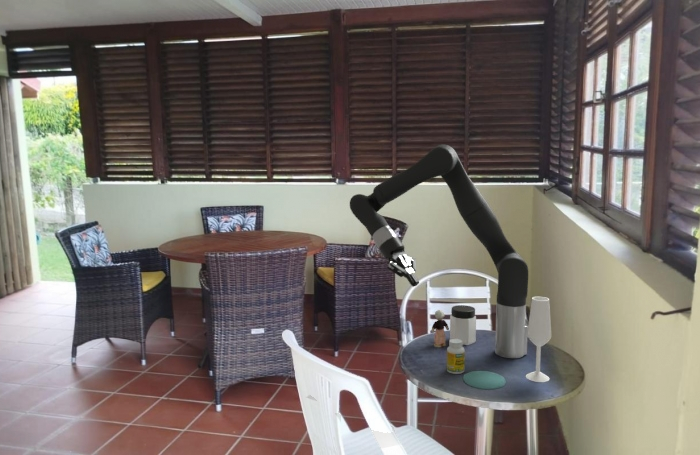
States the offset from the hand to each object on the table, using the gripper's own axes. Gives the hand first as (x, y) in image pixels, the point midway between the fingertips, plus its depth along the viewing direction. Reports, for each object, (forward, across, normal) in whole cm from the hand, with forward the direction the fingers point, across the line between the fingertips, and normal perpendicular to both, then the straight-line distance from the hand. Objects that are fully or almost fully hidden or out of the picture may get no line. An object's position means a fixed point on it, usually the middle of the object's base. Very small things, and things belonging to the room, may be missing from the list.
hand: (416, 284), depth 175 cm
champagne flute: (+43, +12, -9) cm, 45 cm away
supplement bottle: (+29, -1, +6) cm, 29 cm away
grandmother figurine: (+17, +14, +17) cm, 28 cm away
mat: (+36, -1, -2) cm, 36 cm away
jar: (+19, +23, +15) cm, 34 cm away
